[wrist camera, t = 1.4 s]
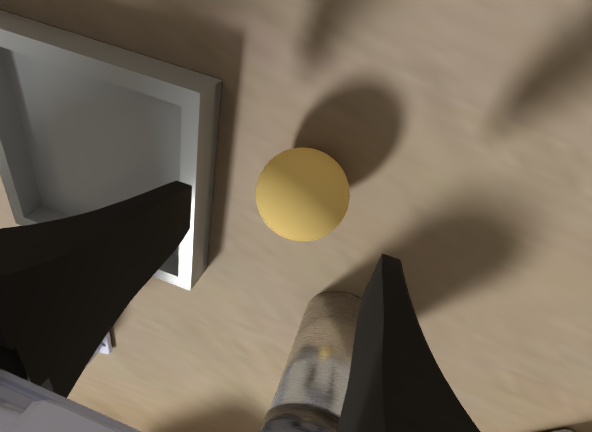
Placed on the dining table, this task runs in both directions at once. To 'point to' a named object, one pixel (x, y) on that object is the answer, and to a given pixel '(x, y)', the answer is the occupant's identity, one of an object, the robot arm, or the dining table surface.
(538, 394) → the dining table surface
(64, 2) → the dining table surface
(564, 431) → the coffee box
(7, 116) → the dish
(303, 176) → the ball
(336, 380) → the shaker cup
